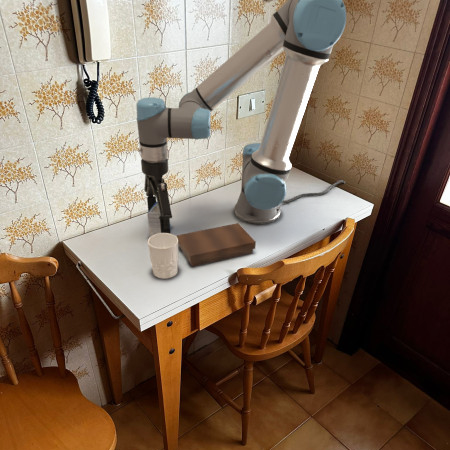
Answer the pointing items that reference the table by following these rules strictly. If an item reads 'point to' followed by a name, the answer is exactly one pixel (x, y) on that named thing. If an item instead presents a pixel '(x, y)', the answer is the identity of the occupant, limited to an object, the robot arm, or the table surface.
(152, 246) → the white cup
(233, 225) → the board
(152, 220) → the medicine box
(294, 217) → the table surface
